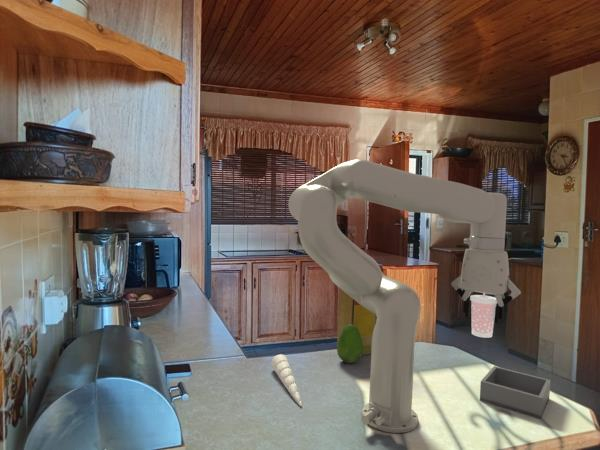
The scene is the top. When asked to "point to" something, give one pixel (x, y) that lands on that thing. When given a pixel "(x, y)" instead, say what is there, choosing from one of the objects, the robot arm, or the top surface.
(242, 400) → the top surface
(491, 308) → the beverage cup
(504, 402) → the bin
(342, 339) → the avocado
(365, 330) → the food packaging
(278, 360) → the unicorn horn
